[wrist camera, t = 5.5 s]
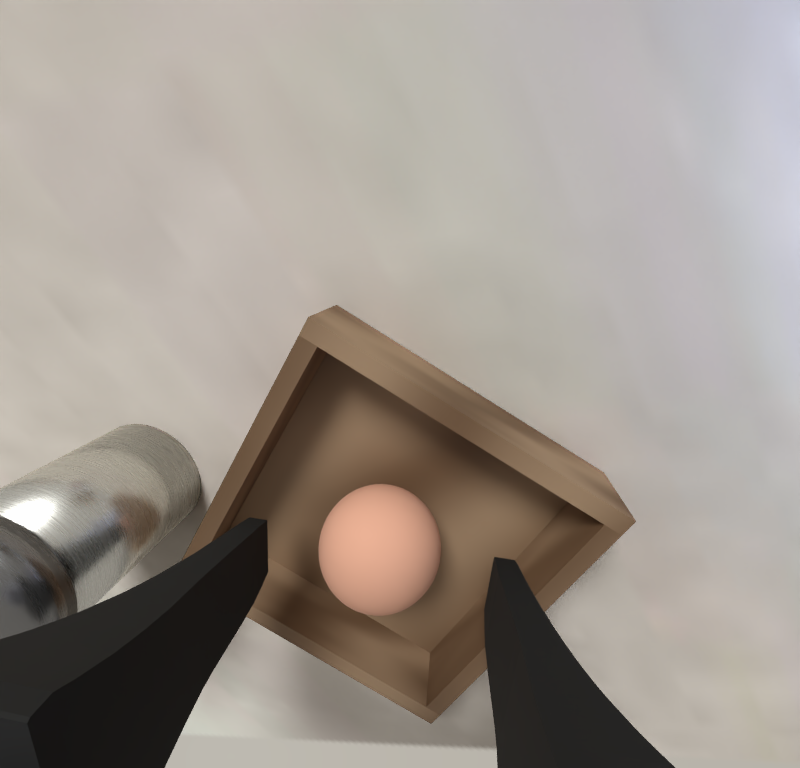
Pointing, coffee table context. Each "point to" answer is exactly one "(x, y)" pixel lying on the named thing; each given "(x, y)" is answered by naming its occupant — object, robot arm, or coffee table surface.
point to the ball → (379, 549)
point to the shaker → (88, 522)
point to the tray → (422, 476)
